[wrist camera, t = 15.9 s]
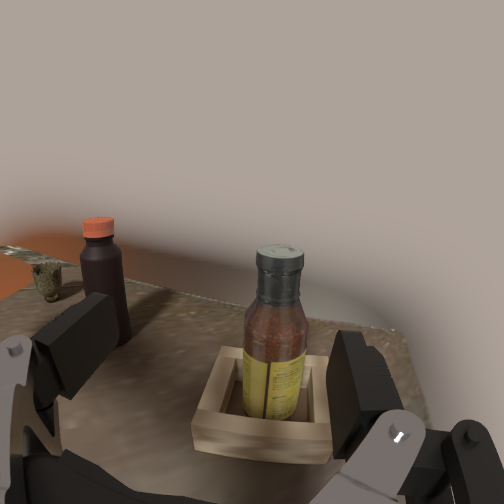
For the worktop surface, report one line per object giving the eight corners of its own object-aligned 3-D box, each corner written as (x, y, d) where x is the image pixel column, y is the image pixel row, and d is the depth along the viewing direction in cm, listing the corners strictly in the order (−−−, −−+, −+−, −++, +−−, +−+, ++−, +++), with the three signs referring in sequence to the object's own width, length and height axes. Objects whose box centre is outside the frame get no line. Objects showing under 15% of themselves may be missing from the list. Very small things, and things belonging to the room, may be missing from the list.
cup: (41, 294, 52) (35, 262, 49) (68, 291, 55) (62, 259, 53) (35, 308, 45) (27, 273, 43) (64, 306, 49) (57, 270, 47)
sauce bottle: (298, 400, 31) (327, 246, 26) (288, 436, 26) (323, 266, 20) (248, 389, 33) (258, 237, 27) (231, 423, 27) (237, 254, 22)
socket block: (194, 449, 24) (190, 424, 22) (221, 373, 37) (222, 345, 36) (325, 464, 22) (338, 439, 21) (320, 383, 36) (327, 356, 34)
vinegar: (133, 326, 46) (123, 215, 40) (129, 348, 40) (114, 223, 34) (99, 326, 44) (84, 216, 39) (91, 347, 38) (70, 225, 32)
